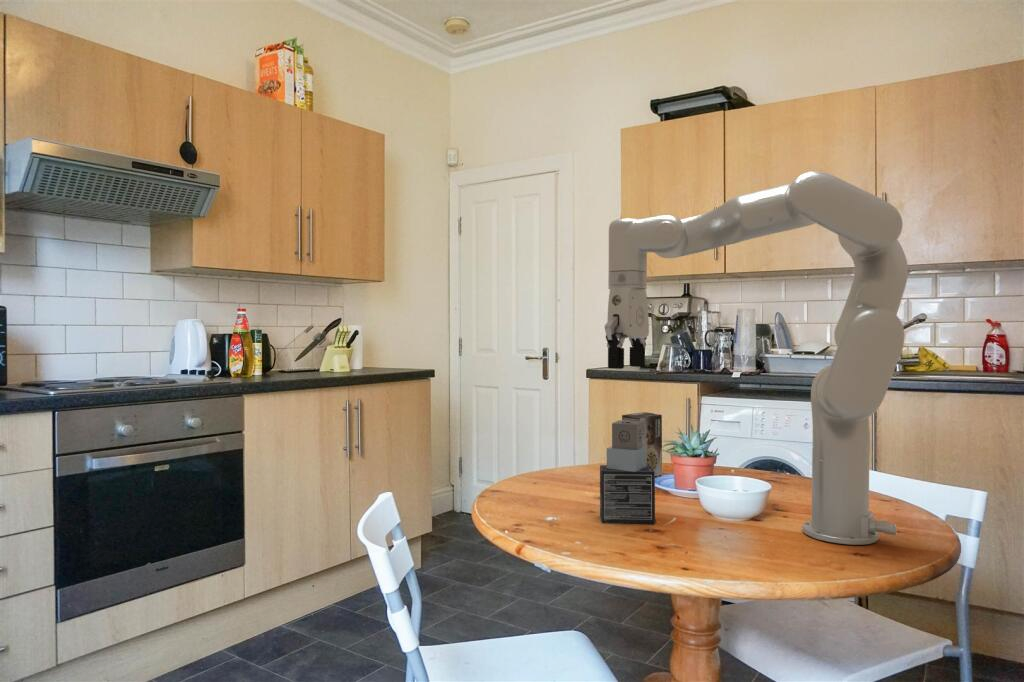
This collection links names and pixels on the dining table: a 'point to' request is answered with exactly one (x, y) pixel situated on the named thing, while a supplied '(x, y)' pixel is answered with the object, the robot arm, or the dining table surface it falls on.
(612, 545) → the dining table surface
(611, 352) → the robot arm
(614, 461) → the slate block
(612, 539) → the dining table surface
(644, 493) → the small box
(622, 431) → the brown grey cube
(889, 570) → the dining table surface
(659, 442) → the coffee box
